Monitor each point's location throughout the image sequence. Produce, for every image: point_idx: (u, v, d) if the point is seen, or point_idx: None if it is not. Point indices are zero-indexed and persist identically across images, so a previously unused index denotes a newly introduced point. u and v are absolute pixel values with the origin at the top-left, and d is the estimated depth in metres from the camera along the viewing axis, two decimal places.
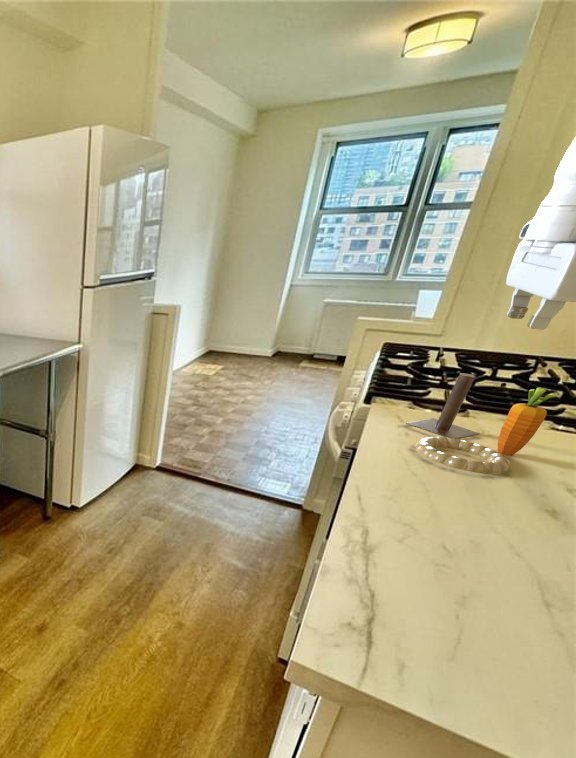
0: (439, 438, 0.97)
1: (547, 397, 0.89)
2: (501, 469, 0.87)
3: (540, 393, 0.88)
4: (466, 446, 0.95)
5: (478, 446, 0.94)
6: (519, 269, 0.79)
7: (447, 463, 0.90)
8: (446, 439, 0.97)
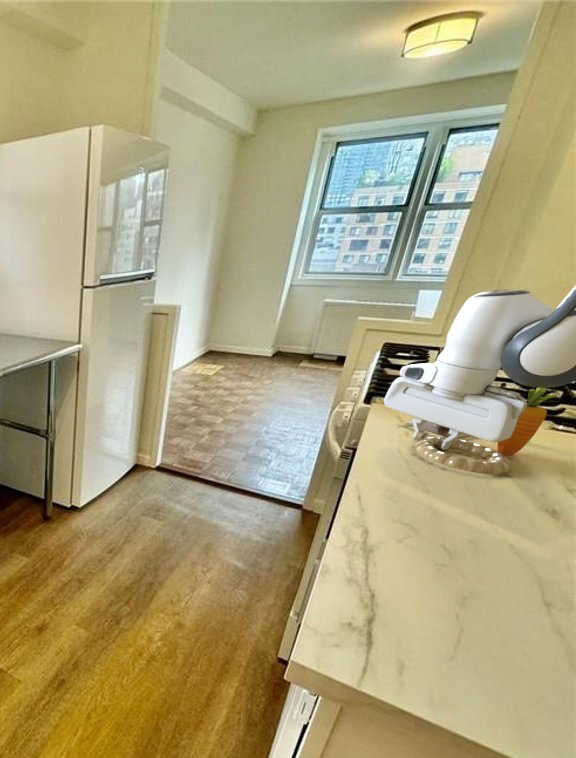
0: (439, 438, 0.97)
1: (547, 397, 0.89)
2: (501, 469, 0.87)
3: (540, 393, 0.88)
4: (466, 446, 0.95)
5: (478, 446, 0.94)
6: (407, 400, 0.99)
7: (447, 463, 0.90)
8: None
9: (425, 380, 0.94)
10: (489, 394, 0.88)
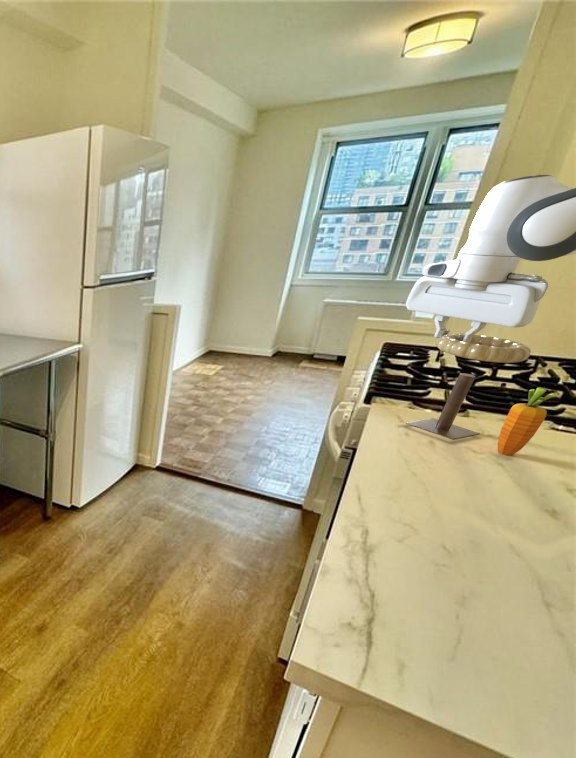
0: None
1: (547, 397, 0.89)
2: (522, 353, 0.91)
3: (540, 393, 0.88)
4: (487, 340, 0.99)
5: (498, 339, 0.98)
6: (429, 299, 1.02)
7: (470, 350, 0.93)
8: None
9: (448, 274, 0.97)
10: (511, 281, 0.91)
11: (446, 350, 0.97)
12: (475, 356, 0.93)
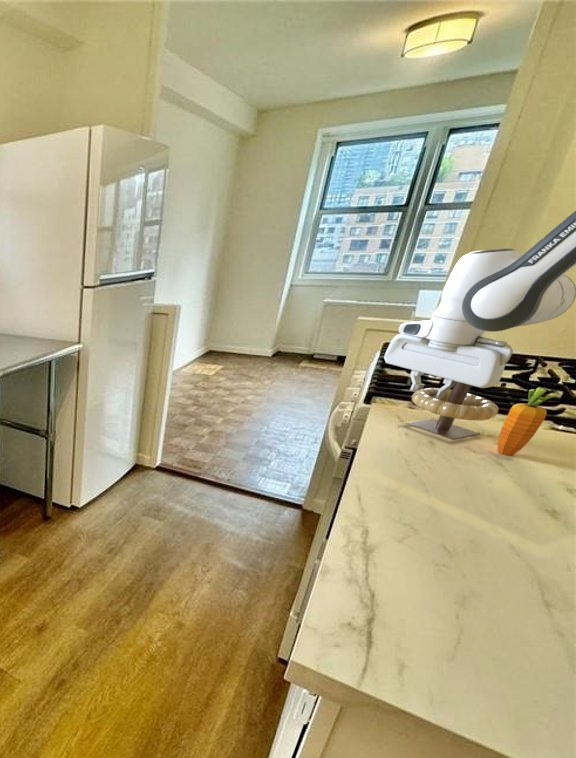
0: None
1: (547, 397, 0.89)
2: (490, 412, 0.97)
3: (540, 393, 0.88)
4: None
5: (469, 395, 1.04)
6: (405, 354, 1.08)
7: (441, 408, 0.99)
8: None
9: (422, 334, 1.03)
10: (479, 344, 0.97)
11: (420, 406, 1.03)
12: (446, 414, 0.99)
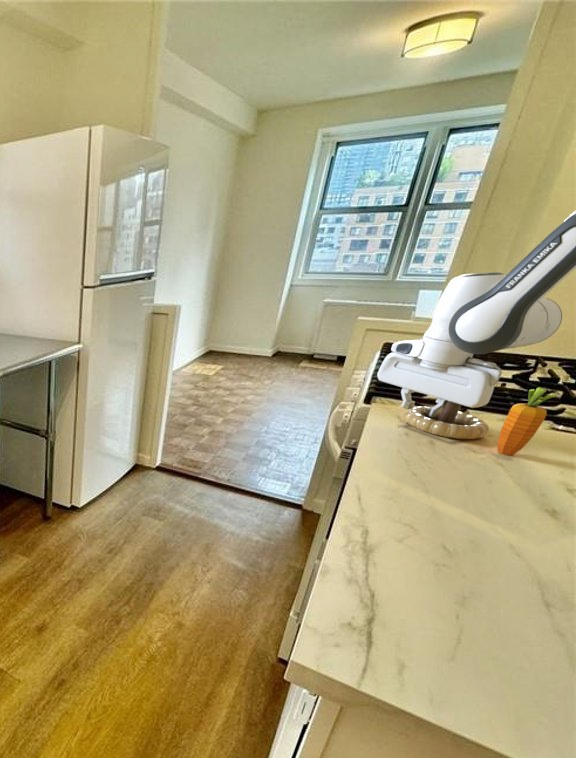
0: (426, 407, 1.09)
1: (547, 397, 0.89)
2: (480, 431, 0.98)
3: (540, 393, 0.88)
4: None
5: (461, 413, 1.06)
6: (398, 373, 1.10)
7: (433, 427, 1.01)
8: None
9: (413, 354, 1.05)
10: (469, 365, 0.99)
11: (412, 424, 1.05)
12: (437, 432, 1.01)
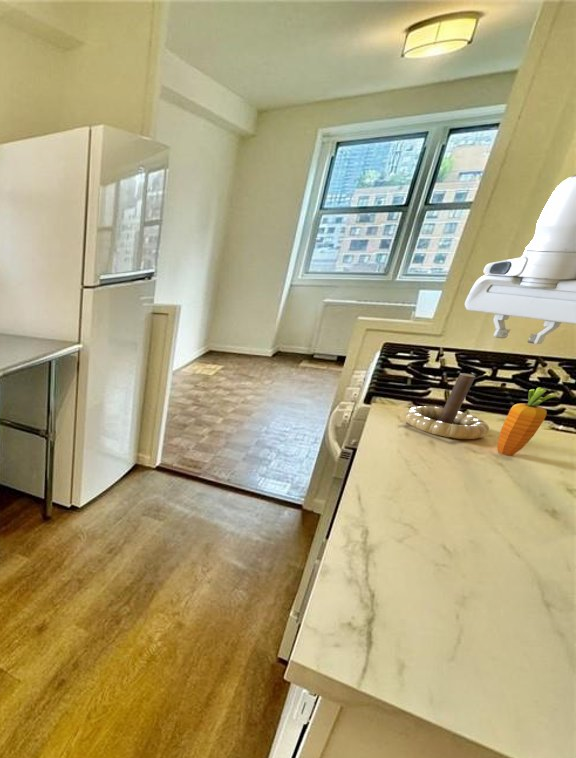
0: (426, 407, 1.09)
1: (547, 397, 0.89)
2: (480, 431, 0.98)
3: (540, 393, 0.88)
4: None
5: (461, 413, 1.06)
6: (491, 298, 0.98)
7: (433, 427, 1.01)
8: (432, 408, 1.08)
9: (513, 273, 0.94)
10: None
11: (412, 424, 1.05)
12: (437, 432, 1.01)
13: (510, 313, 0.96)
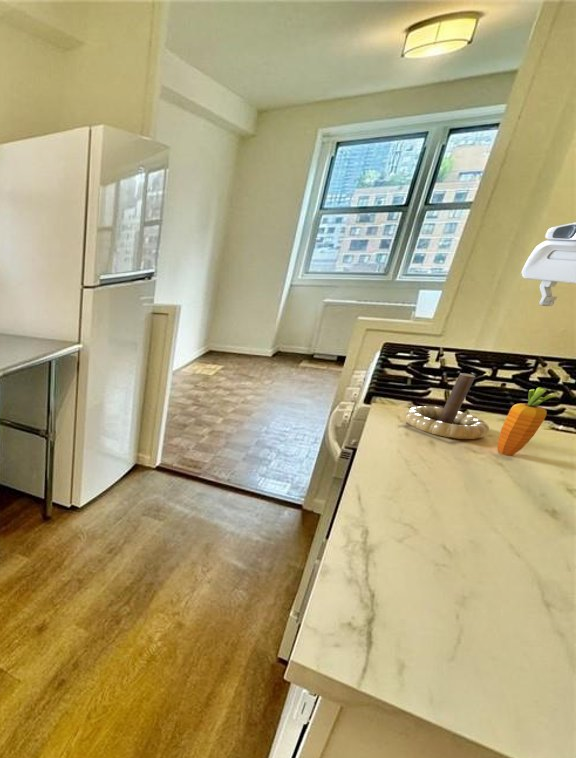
0: (426, 407, 1.09)
1: (547, 397, 0.89)
2: (480, 431, 0.98)
3: (540, 393, 0.88)
4: None
5: (461, 413, 1.06)
6: (552, 265, 0.93)
7: (433, 427, 1.01)
8: (432, 408, 1.08)
9: None
10: None
11: (412, 424, 1.05)
12: (437, 432, 1.01)
13: (573, 280, 0.91)
